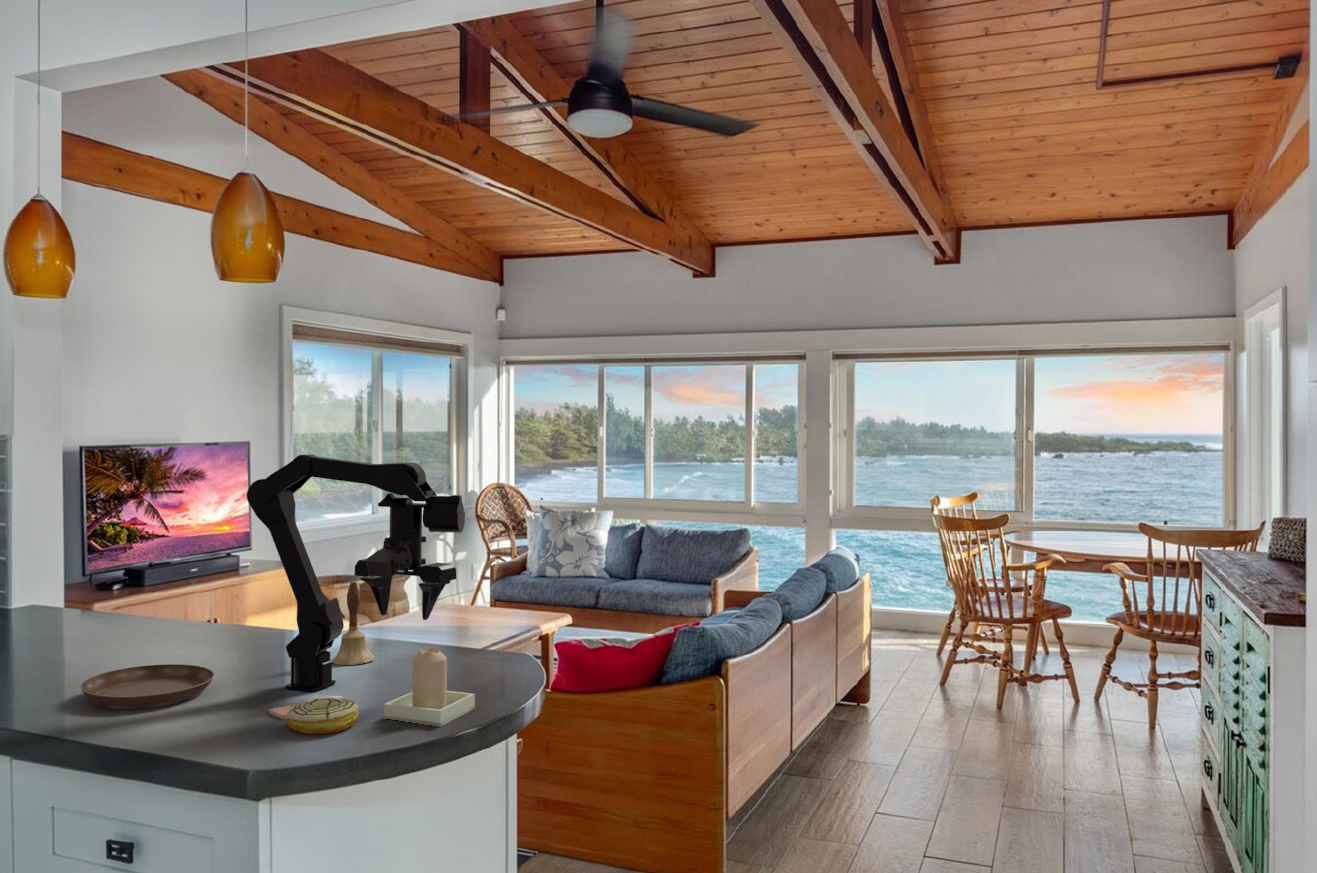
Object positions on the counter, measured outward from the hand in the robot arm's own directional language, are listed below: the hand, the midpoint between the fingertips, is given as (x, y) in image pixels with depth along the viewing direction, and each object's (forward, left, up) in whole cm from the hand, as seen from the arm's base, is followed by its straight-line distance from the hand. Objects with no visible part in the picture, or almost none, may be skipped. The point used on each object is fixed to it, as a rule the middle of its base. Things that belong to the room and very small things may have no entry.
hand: (404, 617), depth 173 cm
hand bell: (-21, +14, -13) cm, 29 cm away
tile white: (-7, -13, -14) cm, 20 cm away
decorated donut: (+1, -23, -13) cm, 27 cm away
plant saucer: (-38, -20, -13) cm, 45 cm away
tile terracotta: (-8, -20, -14) cm, 25 cm away
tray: (+13, -12, -13) cm, 22 cm away
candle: (+13, -12, -13) cm, 22 cm away
